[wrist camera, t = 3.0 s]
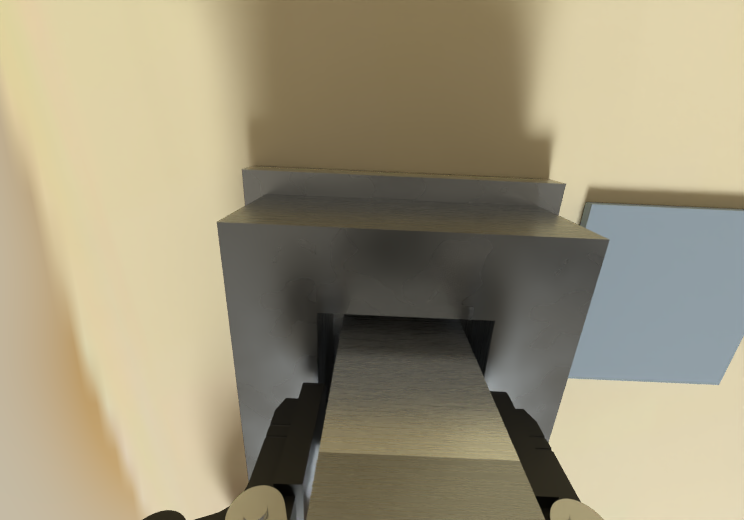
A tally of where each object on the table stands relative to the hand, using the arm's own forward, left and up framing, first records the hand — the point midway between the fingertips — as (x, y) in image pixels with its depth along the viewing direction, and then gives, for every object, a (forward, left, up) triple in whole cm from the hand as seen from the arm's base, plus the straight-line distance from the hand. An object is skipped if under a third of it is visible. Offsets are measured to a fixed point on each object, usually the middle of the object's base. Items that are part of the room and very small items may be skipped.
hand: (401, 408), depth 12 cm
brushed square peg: (0, 0, -6) cm, 6 cm away
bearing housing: (0, 0, -7) cm, 7 cm away
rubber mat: (-14, -1, -7) cm, 16 cm away
